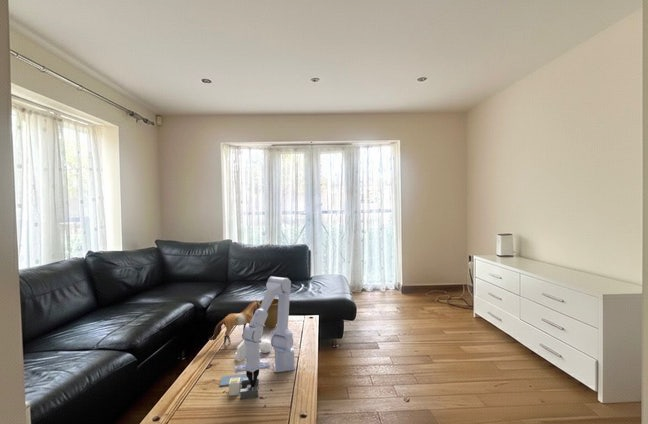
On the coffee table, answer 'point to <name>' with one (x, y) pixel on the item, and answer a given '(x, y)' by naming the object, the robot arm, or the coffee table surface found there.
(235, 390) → the wall lamp
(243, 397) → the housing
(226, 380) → the mat
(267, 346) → the ornament
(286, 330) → the robot arm
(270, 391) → the coffee table surface
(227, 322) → the horse figurine
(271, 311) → the plant pot
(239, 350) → the white wedge bracket
